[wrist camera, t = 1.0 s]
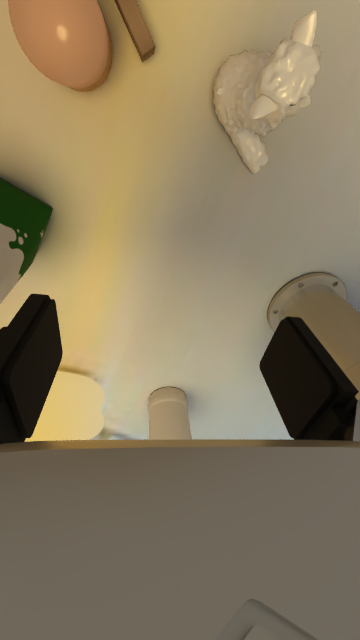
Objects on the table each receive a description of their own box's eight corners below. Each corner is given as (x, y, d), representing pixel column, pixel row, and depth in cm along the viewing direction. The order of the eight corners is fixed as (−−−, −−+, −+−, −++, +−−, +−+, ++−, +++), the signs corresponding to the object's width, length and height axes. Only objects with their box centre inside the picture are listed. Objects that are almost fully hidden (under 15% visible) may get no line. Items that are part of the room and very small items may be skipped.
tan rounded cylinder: (126, 65, 23) (121, 51, 18) (74, 106, 24) (57, 103, 20) (79, -32, 20) (59, -80, 15) (21, 22, 21) (-14, -6, 16)
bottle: (185, 407, 57) (214, 610, 33) (150, 411, 56) (153, 620, 33) (185, 384, 52) (219, 604, 28) (146, 388, 51) (147, 615, 28)
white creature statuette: (254, 174, 30) (305, 199, 20) (188, 135, 27) (212, 143, 17) (311, 73, 25) (412, 45, 15) (238, 12, 22) (308, -70, 12)
